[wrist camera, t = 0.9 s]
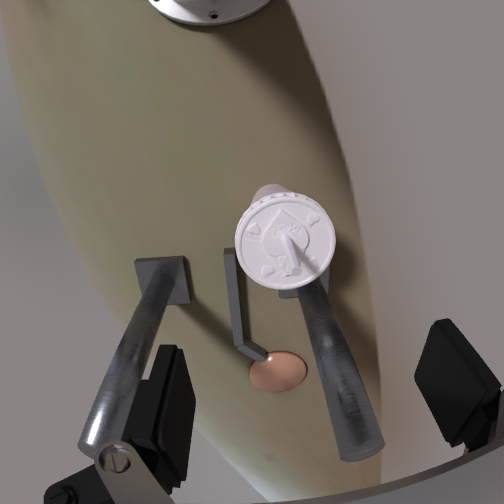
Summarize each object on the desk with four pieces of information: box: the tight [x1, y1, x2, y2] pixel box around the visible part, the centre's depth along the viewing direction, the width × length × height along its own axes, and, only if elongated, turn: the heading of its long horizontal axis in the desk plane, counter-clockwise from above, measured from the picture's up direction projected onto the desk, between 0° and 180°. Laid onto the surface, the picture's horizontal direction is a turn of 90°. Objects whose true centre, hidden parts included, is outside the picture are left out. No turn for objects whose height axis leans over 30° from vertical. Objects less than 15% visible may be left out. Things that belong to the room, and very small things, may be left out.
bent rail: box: [224, 248, 266, 363], centre depth 32 cm, size 14×3×2 cm, turn 3°
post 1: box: [78, 256, 191, 459], centre depth 22 cm, size 5×5×20 cm
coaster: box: [249, 351, 306, 392], centre depth 36 cm, size 7×7×1 cm
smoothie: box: [235, 184, 336, 290], centre depth 21 cm, size 6×6×14 cm
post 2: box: [279, 263, 385, 462], centre depth 22 cm, size 5×5×20 cm
